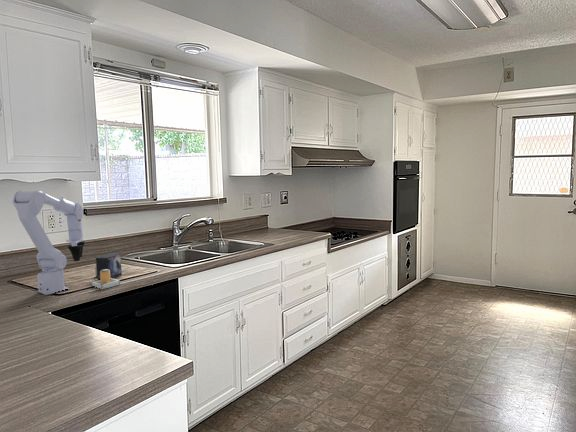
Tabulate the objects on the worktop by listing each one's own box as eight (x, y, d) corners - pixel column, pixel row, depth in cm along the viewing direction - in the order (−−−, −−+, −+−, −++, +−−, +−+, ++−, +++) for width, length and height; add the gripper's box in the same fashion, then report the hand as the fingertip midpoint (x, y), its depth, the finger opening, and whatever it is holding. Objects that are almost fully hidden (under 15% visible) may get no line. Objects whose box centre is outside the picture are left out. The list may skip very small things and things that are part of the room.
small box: (109, 280, 198) (107, 257, 196) (96, 280, 199) (94, 257, 198) (122, 274, 208) (121, 252, 207) (110, 274, 209) (109, 252, 208)
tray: (101, 289, 183) (101, 285, 183) (91, 286, 189) (91, 282, 188) (120, 284, 190) (119, 280, 190) (110, 281, 195) (109, 277, 195)
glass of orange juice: (101, 286, 187) (100, 271, 186) (100, 284, 190) (99, 269, 189) (111, 284, 189) (110, 270, 188) (109, 282, 192) (108, 268, 191)
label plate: (95, 277, 204) (94, 266, 204) (95, 276, 205) (94, 266, 204) (107, 274, 209) (107, 264, 208) (107, 274, 209) (106, 263, 209)
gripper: (68, 228, 202) (70, 256, 204) (62, 232, 188) (65, 263, 190) (84, 226, 204) (87, 255, 206) (80, 231, 191) (83, 261, 192)
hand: (78, 259), depth 198 cm, fingers open, 7 cm apart
